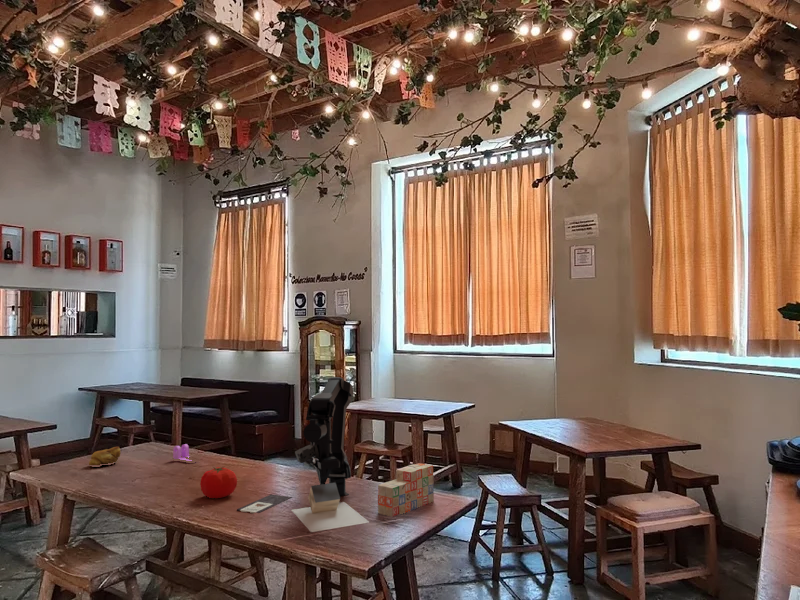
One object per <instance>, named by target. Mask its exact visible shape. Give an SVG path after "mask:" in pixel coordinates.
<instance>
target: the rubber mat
mask: <svg viewBox="0 0 800 600" xmlns="http://www.w3.org/2000/svg"><path fill="white" fill-rule="evenodd" d="M291 512H292V513H293V514H294V515H295V516H296V517H297V519H298V520H299V521H300V522H301V523H302V524H303V526H305V527H306V529H307V530H308V531H309V532H310V533H316V532H322V531H326V530H327V531H328V530H333V529H340V528H344V527H346V528H347V527H351V526H352V527H353V526H357V525H362V524H369V523H370V521H369V520H368V519H366V518H365V517H364V516H362V515H361V514H360V513H359V512H358V511H357V510H355V509H354V508H353V507H351V506H350V505H349V504H348V503H346V502H345V501H342V502H341V501H339V504H338V507H337V510H333V511H326V512H320V513H313V514H312V510H311V506H309V507H300V508H295V509H291Z"/></svg>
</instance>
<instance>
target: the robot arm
mask: <svg viewBox="0 0 800 600" xmlns="http://www.w3.org/2000/svg"><path fill="white" fill-rule="evenodd" d="M353 396H354V387H353V385H352V383H350V382H349V381H347V380H344V378H343V377H341V376H339V377H337V376H336V377H329V378H328V379H327V383H326V384H325V386H324V388H323V389H322V391H321V392H320V393H319V394H315V395H314V396H313V397H312V398H311V400H310V401H309V403H308V408H307V413H306V418H305V420H306V421H309V423H308V424H307V425H306V426H305V427H304V429H303V437H304V439H305V440H306V441H307V442H309V443H310V444H308V445H305V446H304V447H303V446H302V447H301V448H299V449H297V450H295V451H294V454H295V456H296V459H297V461H298V462H299V463H300V464H302V463H303V464H304V463H305V462H307V461H309V460H310V459H312V462H310V465H312V466H313V467H314V469H315V470H316V473H317V477H318V482H319V485H321V484H327V480H328V481H329V482H328V483H336V486H337V489H338V492H339V496H340V497H345V496H350V494H349V493H348V492H347V491H346V480H347V479H349V478H351V477H352V472H351V470H352V469H351V467H350V464H349V462H348V456H347V454H346V452H345V450H344V445H345V433H346V432H345V431H346V416H347V408H349V406H350V405H351V402H352V397H353ZM331 420H332V421H331Z"/></svg>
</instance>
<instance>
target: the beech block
mask: <svg viewBox="0 0 800 600" xmlns="http://www.w3.org/2000/svg"><path fill="white" fill-rule="evenodd" d="M307 498H308V503H309V507H311V510H312V514H313V513H320V512H326V511H333V510H337V507H338V504H339V503H340V502H341V501H340V500H341V496H339V492H338V489H337V486H336V483H329V482H328V483H325V484H321V485H320V484H316V485H311V486H310V489H309V494H308V497H307Z"/></svg>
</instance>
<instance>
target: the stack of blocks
mask: <svg viewBox="0 0 800 600" xmlns="http://www.w3.org/2000/svg"><path fill="white" fill-rule="evenodd" d="M395 472H396V473H395V475H396V476H395V479H393V480H389V481H386V482H382V483H379V484H378V486H377V513H378V514H380V515H382V516H383V515H384V516H388V517H391V518H393V517H396V516H398V515H400V514H402V515H404V514H406V512H407V513H409V512H411V511H413V509H414V510H416V509H415V508H417V507H419V508H421V507H424V506H426V505H425V504H427V505H429V504H431V502H432V503H434V502H435V501H434V500H435V499H434V498H435V496H434V495H435V493H434V484H435V483H434V480H435V479H434V478H435V477H434V465H432V464H426V463H421V462H420V463H416V464H415V463H413V464H410V465H409V464H408V465H407V466H404V467H400V468H397V469H396V470H395ZM428 503H429V504H428ZM423 505H424V506H423ZM420 506H421V507H420ZM417 509H418V508H417ZM410 510H411V511H410ZM408 511H409V512H408ZM403 513H404V514H403Z"/></svg>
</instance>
